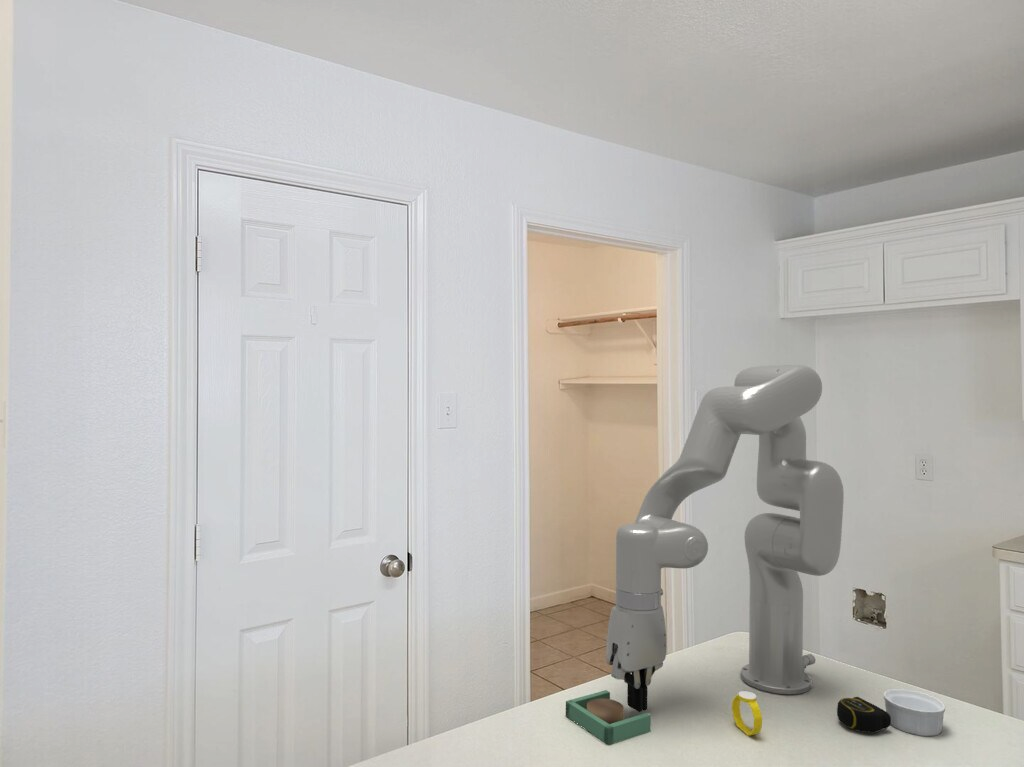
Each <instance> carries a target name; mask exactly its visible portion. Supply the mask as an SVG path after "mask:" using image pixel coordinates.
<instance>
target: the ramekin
mask: <svg viewBox="0 0 1024 767" xmlns="http://www.w3.org/2000/svg"><path fill="white" fill-rule="evenodd" d="M883 699H884V704H885V705H884V706H885V711H886V712H887V713H888V714H889V715H890V717H891V725H890V726H893V727H894V728H895V729H898V730H900V731H901V732H905V733H908V734H911V735H916V736H921V737H933V736H934V737H935V736H937V735H940V734H941V733H942V730H943V724H944V713H945V711H946V705H945V704H944V702H942V700H940V699H938V698H937V697H934V696H933V695H931V694H928V693H924V692H922V691H916V690H912V689H907V688H906V689H905V688H892V689H887V690H885V691H884V692H883Z"/></svg>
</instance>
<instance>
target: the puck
mask: <svg viewBox="0 0 1024 767" xmlns="http://www.w3.org/2000/svg"><path fill="white" fill-rule="evenodd" d="M624 709H625V707H624V704H622V703H621V702H619V701H617V700H614V699H611V698H610V699H604V698H600V699H594V700H591V701H589V702H588V703H587V711H589V712H591V713H592V714H594V715H595V716H597V717H599V718H600V719H602V720H603V721H605V722H606V723H608V724H612V723H615V722H618V721H622V720H625V718H624V716H625V715H624V714H625V713H624V712H625V710H624Z"/></svg>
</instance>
